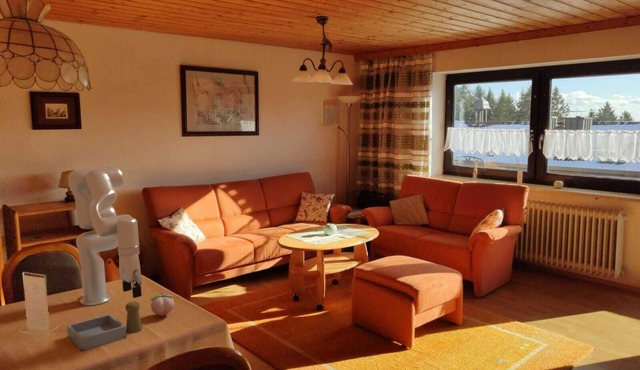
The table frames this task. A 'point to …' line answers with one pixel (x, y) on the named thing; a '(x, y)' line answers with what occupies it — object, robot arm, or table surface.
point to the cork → (133, 317)
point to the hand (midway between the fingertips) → (132, 293)
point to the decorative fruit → (162, 304)
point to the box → (96, 332)
